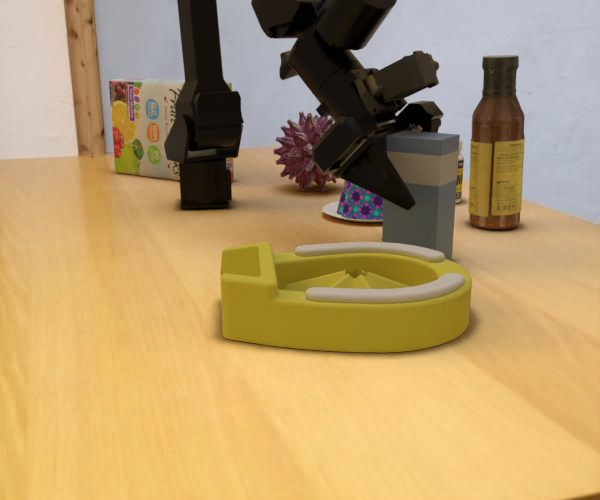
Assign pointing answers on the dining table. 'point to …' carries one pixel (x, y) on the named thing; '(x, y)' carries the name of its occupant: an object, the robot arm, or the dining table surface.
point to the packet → (424, 190)
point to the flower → (303, 150)
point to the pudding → (356, 205)
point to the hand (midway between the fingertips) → (431, 198)
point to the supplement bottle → (459, 174)
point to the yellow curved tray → (343, 296)
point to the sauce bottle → (497, 148)
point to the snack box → (145, 126)
